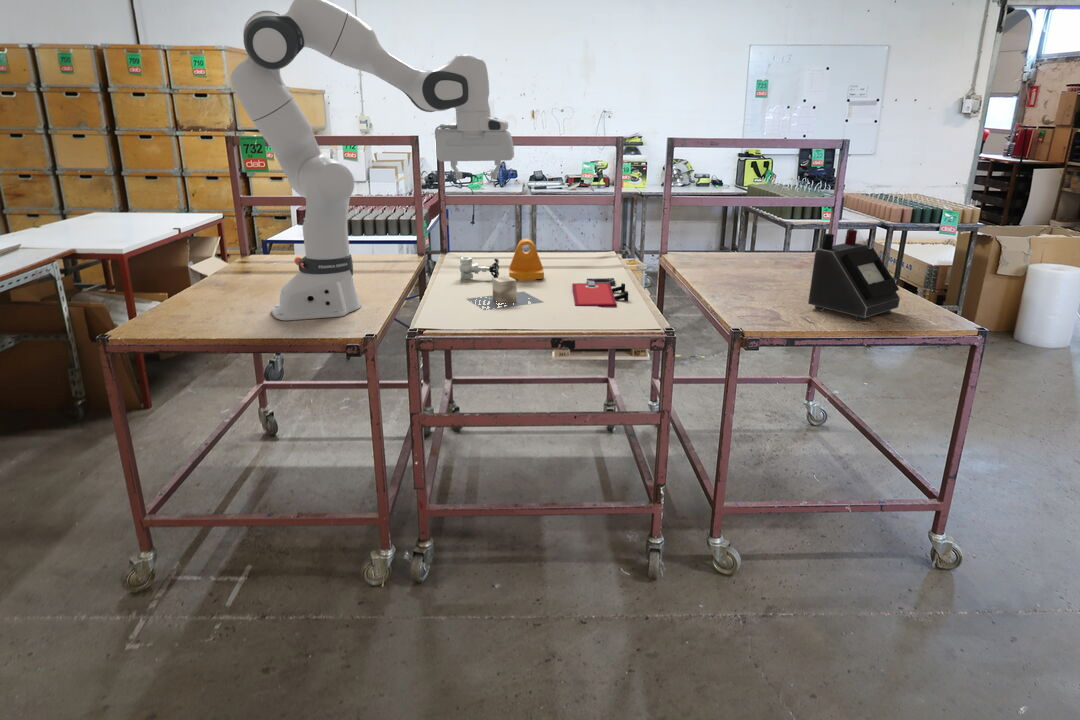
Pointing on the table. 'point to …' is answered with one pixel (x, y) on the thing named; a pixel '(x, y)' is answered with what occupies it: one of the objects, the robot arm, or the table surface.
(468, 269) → the valve
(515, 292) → the maple block
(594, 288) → the red board with handle
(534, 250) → the bracket
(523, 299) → the grey mat
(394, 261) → the table surface
